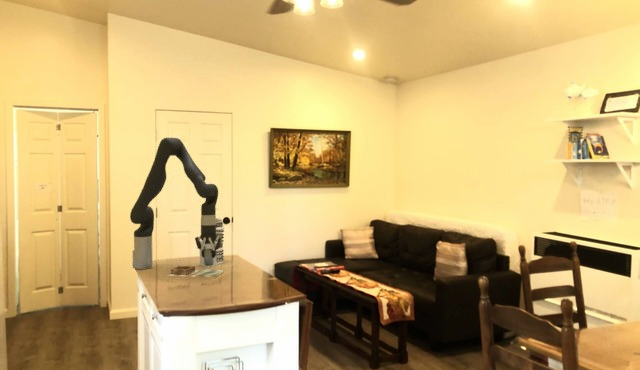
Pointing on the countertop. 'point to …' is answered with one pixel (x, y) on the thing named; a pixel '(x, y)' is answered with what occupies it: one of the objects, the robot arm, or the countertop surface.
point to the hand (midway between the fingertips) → (208, 257)
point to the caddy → (193, 272)
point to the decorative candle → (219, 234)
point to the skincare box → (203, 258)
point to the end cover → (208, 257)
